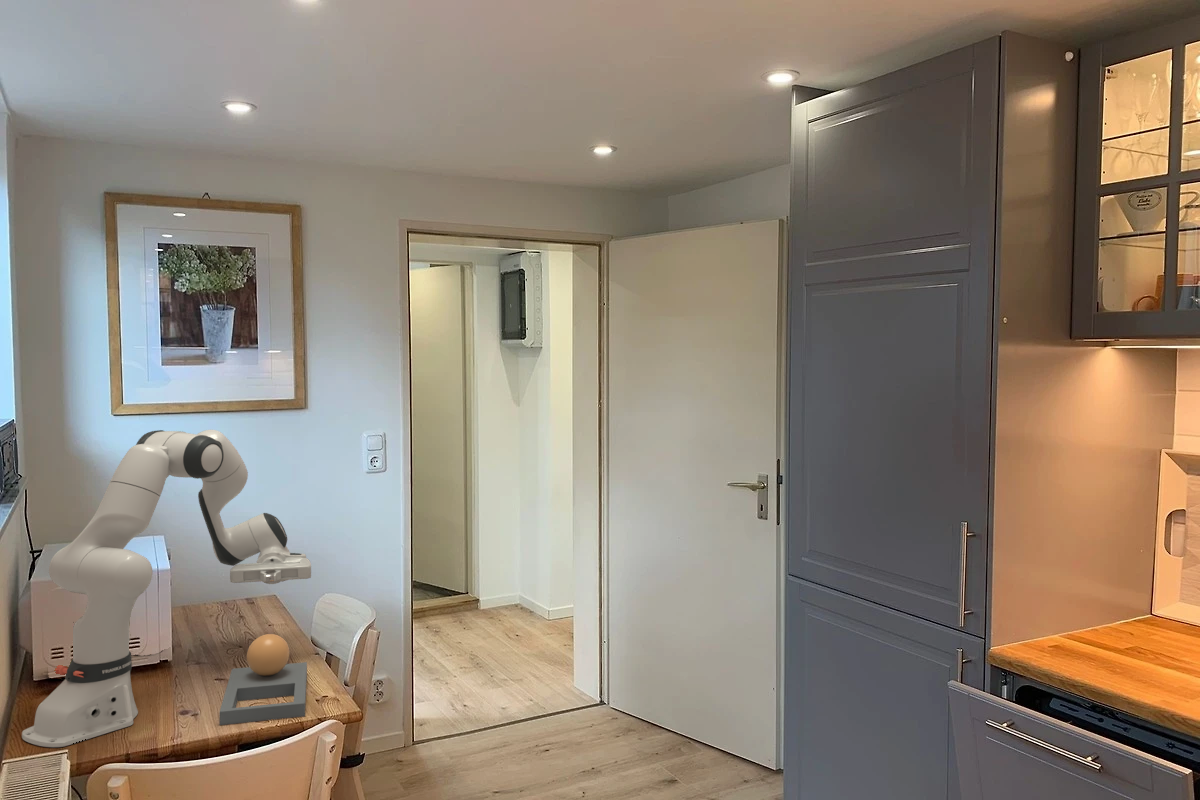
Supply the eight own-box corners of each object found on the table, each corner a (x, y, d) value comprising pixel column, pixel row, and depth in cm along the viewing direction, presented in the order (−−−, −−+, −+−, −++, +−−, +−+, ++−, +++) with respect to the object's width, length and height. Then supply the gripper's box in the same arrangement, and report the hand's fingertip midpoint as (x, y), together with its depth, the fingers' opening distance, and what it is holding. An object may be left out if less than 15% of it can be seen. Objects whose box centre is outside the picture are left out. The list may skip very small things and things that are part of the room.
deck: (232, 680, 222) (232, 668, 222) (306, 673, 227) (306, 662, 227) (219, 725, 194) (219, 711, 194) (304, 716, 200) (304, 703, 200)
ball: (267, 684, 211) (267, 643, 211) (237, 677, 216) (237, 637, 215) (298, 671, 220) (298, 632, 220) (268, 665, 225) (268, 626, 224)
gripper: (231, 557, 236) (226, 569, 223) (311, 553, 242) (310, 564, 229) (231, 580, 236) (226, 593, 223) (311, 576, 242) (311, 588, 229)
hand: (270, 578), depth 226 cm, fingers closed
